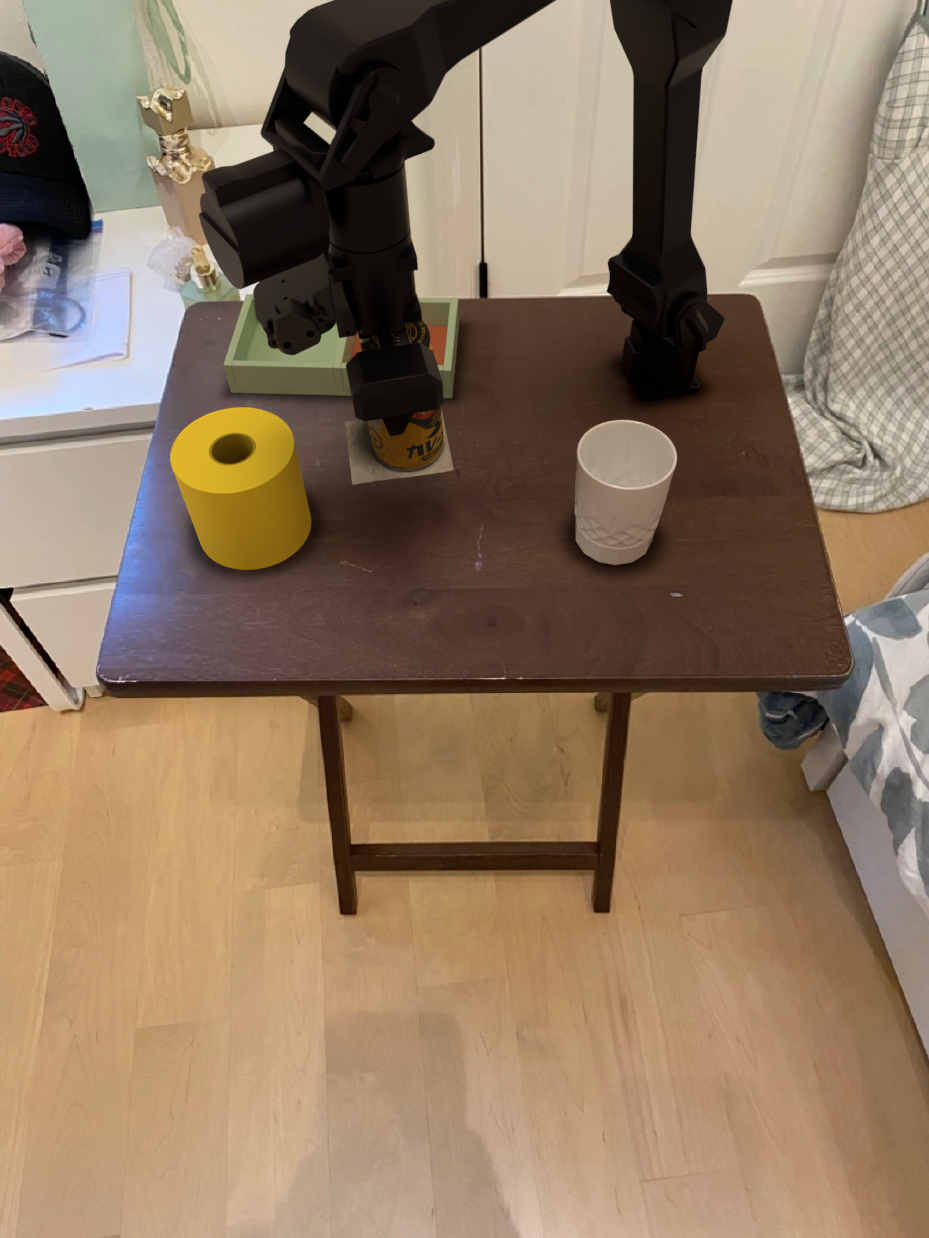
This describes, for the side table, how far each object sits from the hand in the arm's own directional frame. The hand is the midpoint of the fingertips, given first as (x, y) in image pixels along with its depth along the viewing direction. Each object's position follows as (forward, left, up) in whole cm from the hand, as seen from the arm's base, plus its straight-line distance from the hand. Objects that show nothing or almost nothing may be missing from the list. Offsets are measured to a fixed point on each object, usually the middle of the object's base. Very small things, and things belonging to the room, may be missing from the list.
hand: (389, 407), depth 75 cm
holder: (+1, -22, -12) cm, 25 cm away
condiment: (0, 0, -5) cm, 5 cm away
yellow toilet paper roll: (+13, -1, -12) cm, 18 cm away
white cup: (-17, +8, -12) cm, 23 cm away
